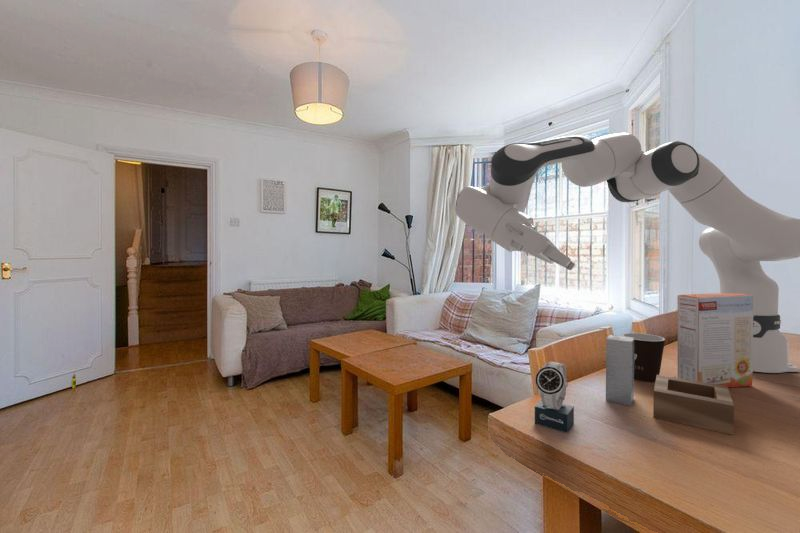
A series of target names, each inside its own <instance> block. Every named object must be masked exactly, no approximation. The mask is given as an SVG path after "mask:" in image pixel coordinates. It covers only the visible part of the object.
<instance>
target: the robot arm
mask: <svg viewBox="0 0 800 533" xmlns="http://www.w3.org/2000/svg"><path fill="white" fill-rule="evenodd" d="M490 161H491V163H490V164H491V165H490V182H489V184H487V185H483V186H477V187H475V186H471V185H466V186H465V187H463V189H461V190H460V192H459V193H458V196H457V197H456V198H457V199H456V202H455V214H456V216H457V217H458V218H459V220H461V221H462V222H463V223H464V224H466V225H467V226H469V227H470V228H471V229H473V230H475V231H476V232H478V233H480V234H484V235H486V236H487V237H488V238H489V240H490V241H492V242H494V244H496V245H499V246H500V247H501V248H503V249H505V250H506V251H507V252H511V253H512V252H514V251H515V252H524V253H526V254H529V255H531V256H533V257H535V258H537V259H540V260H541V261H542V262H543V261H544V263H548V264H551V265H552V264H554V263H556V264H557V265H559V266H561V267H563V268H565V269H567V270H569V271H572V270H573V269H574V268H575V267H576V263H575V262H573V261H572V259H571V257H569V256H568V255H566V254H564V253H562V252H561V250H560V249H558V247H557V246H556V245H555V244H554V243H553V242H552V241H551V240H550V239H549V238H548V237H547V236H546V235H544V234H542V233H540V232H538V231H537V227H536V226H535V225H534V218H533V217H532V216H530V215H528V214H526V213H525V212H524V211H525V210H526V208H527V206H528V203H529V200H530V196H531V192H532V187H533V185H534V180H535V178H536V176H537V174H538V173H539V172H540V170H542V168H543V167H546V166H547V167H548V166H550V165H551V166H552V165H555V164H561V168H562V172H563V174H564V176H565V177H566V178H567V180H568V181H569V182H570V183H572V184H573V185H576V186H579V187H582V188H586V187H592V186H596V185H599V184H601V183H603V182H606V183H607V186H608V187H607V188H608V191H609V192H610V194H611V196H612V197H614V199H615V200H617V201H619V202H621V203H635V202H638V201H640V200H643V199H646V198H651V197H654V196H658V195H660V194H661V193H663V192H665V191H668V192H669V193H670V194H671V195H672V197H673V198H674V199H675V200H676V201H677V202H678V203H679V204H680V205H681V206H682V207H683V208H684V209H685V210H686V211H687V212H688V213H689V215H691V217H692V218H693V219H694V220H695V221H696V222H697V223H699V224H701V225H702V226H707V228H705V229H704V230H703V231H702V232H701V233H700V236H699V238H698V246H699V248H700V250H701V252H702V253H703V254H704V255H706V256H707V257H708V258H709V260H710V261H711V262H712V265H713V266H714V269H715V271H716V273H717V276H718V279H719V280H718V281H719V293H737V294H745V295H753V372H757V373H769V374H777V373H778V374H779V373H780V374H782V373H788V372H790V373H791V372H792V373H794V372H796V373H798V372H799V367H798V366H796V365H794V364H793V363H791V362H790V357H789V356H790V353H789V348H790V347H789V338H788V337H787V336H785V335H784V334H783V333H782V332H780V329H781V323H782V320H781V315H780V314H779V285H778V283H777V282H776V281H775V280H774V279H773V278H771V277H769V276H768V275H767V274H766V272H765V271H764V270H763V268H762V265H761V262H779V261H787V260H792V259H797V258H799V257H800V218H796V217H791V216H789V215H784V214H782V213H779V212H777V211H775V210H774V209H771V208H769V207H767V206H766V205H765V206H764V205H763V204H761V203H760V202H757V201H756V200H754V199H752V198H750V196H748V195H747V194H745V193H744V192H742V190H740V188H739V187H737V185H735V183H733V182H732V180H731V179H730V178H729V177H728V176H727V175H726V174H725V173H724V172H723V171H722V170H721V169H720V168H719V167H718V166H716V164H714V163H713V162H711V161H710V160H709V159H708V158H706V157H705V156H703V155H702V154H701V153H699V152H698V151H696V149H695V148H694V147H693V146H692V145H690V144H688V143H686V142H683V141H680V140H679V141H678V140H675V141H669V142H666V143H664V144H661V145H659V146H657V147H655V148H653V149H650V150H648V151H643V150H642V144H641V142H640V140H639V139H638V138H637V137H636V136H635V135H634V134H632V133H628V132H617V133H612V134H607V135H601V136H600V137H596V138H593V139H591V138H589V137H587V136H584V135H580V134H579V135H567V136H565V135H564V136H561V137H555V138H554V137H553V138H550V139H543V140H539V141H533V142H525V143H524V142H514V143H509V144H506V145H504V146H503V147H501V148H499V149H498V150H496V152H494V154H493V155H492V157H491V160H490Z"/></svg>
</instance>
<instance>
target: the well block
mask: <svg viewBox="0 0 800 533" xmlns="http://www.w3.org/2000/svg"><path fill="white" fill-rule="evenodd" d="M652 403H653V404H652V406H653V407H652V408H653V409H652V410H653V412H652V413H653V414H652V416H653V418H655V419H660V420H664V421H669V422H672V423H673V422H675V423H677V424H681V425H685V426H691V427H696V428H700V429H703V430H704V429H705V430H709V431H714V432H718V433H722V434H726V435H731V436H734V434H735V433H734V431H735V430H734V426H735V423H734V422H735V404H734V401H733V399H732V395H731V392H730V390H729V387H728V386H724V385H717V384H711V383H705V382H699V381H693V380H687V379H681V378H678V377H674V376H669V375H668V376H666V375H660V374H659V375H657V376H656V381H655V382H654V387H653V402H652Z"/></svg>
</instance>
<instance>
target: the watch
mask: <svg viewBox="0 0 800 533" xmlns="http://www.w3.org/2000/svg"><path fill="white" fill-rule="evenodd" d="M567 381H568V380H567V370H566V365H565V364H564V363H563V362H562V363H561V362H557V361H556V362H555V361H552V360H551V361H548V362H547V363H544V365H543V366H542V367H541V368H540V369H539V370H538V371H537V372H536V374H535V378H534V383H535V386H536V388H537V392H538V395H539V397H540V398H541V400H540V401H538V402H537V404H535V405H534V424H536V425H539V426H543V427H546V428H549V429H553V430H557V431H559V432H563V433H567V434H568V433H569V431H570V429H571V428H572V426H573V425H574V421H575V417H574V416H575V412H574V411H575V406H574V405H570V404H566V403H563V401H565V398H566V395H567V392H566V391H567V388H568V387H569V382H567Z"/></svg>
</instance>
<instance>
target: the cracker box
mask: <svg viewBox="0 0 800 533" xmlns="http://www.w3.org/2000/svg"><path fill="white" fill-rule="evenodd" d="M753 372H754V371H753V295H745V294H737V293H720V292H719V293H690V294H689V293H688V294H678V295H677V378H681V379H687V380H693V381H699V382H705V383H711V384H717V385H724V386H728V388H739V387H740V388H741V387H752V386H753V380H754V379H753V378H754V377H753V376H754V375H753Z"/></svg>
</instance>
